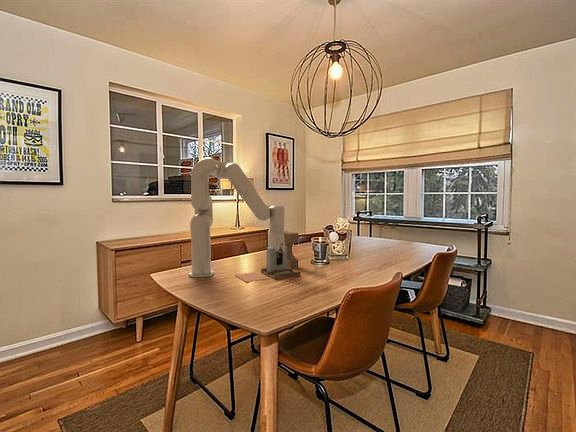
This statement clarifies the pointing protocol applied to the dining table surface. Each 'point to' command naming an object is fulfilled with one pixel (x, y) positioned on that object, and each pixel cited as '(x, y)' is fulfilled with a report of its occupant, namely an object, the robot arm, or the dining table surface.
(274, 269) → the grey rectangular block
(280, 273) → the upper offcut slab
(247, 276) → the terracotta mat
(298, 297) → the dining table surface
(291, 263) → the decorative block
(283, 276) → the tray
